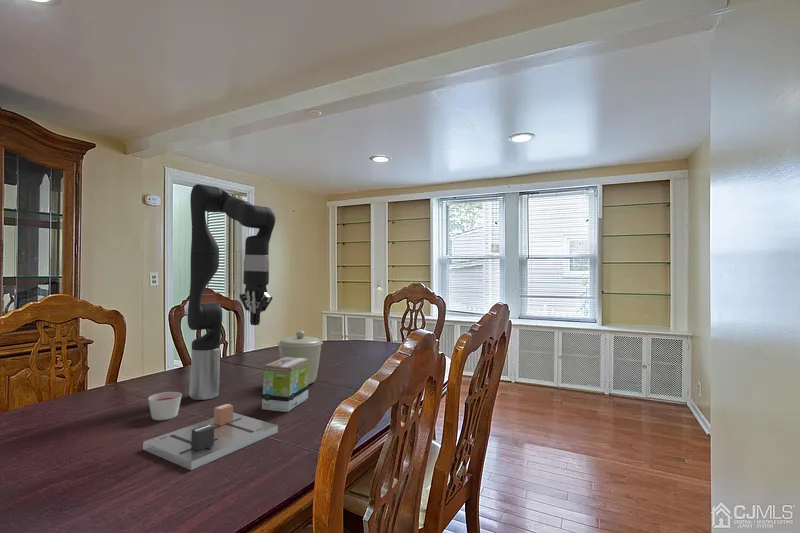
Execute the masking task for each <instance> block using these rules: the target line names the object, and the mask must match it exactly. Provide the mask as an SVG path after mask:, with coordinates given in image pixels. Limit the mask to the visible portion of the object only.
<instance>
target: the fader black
mask: <svg viewBox="0 0 800 533" xmlns="http://www.w3.org/2000/svg"><path fill="white" fill-rule="evenodd" d="M213 445H214V427H212V426H211V425H204V426H201V427H198V428H196V429H193V430H192V438H191V448H192V449H194V450H197V451H201V450H203V449H206V448H208V447H211V446H213Z"/></svg>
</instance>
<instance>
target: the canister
mask: <svg viewBox="0 0 800 533" xmlns="http://www.w3.org/2000/svg"><path fill="white" fill-rule="evenodd" d="M276 343H277V346H278V350H279V351H278V352H279V359H281V358H284V357H294V358H306V359H309V384H308V385H311V384H314V382H315V381H316V379H317V377H318V370H319V364H320V357H321V350H322V349H321V348H322V345H323V344H324V341H322V340H321V339H320V338H317V337H313V336H306V333H305V332H304V330H298V331H297V332H296V333H295V336H288V337H285V338H282V339H280V340H279V341H277V342H276Z"/></svg>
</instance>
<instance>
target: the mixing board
mask: <svg viewBox="0 0 800 533" xmlns="http://www.w3.org/2000/svg"><path fill="white" fill-rule="evenodd" d="M204 425H211V426H212V427H214V445H213V446H211V447H208V448H206V449H203V450H201V451H197V450H194V449H192V448H191V438H192V430H193V429H196V428H198V427H201V426H204ZM278 429H279V426H278V425H277V424H273V423H270V422H268V421H264V420H260V419H256V418H253V417H250V416H247V415H244V414H240V413H236V412H233V421H232V422H230V423H227V424H224V425H221V426H220V425H217V424H214V417H212V418H209V419H206V420H203V421H200V422H198V423H194V424H192V425H189V426H185V427H183V428H180V429H176V430H174V431H171V432H168V433H165V434H161V435H159V436H155V437H153V438H150V439H147V440H143V441H142V451H143V450H144V451H146V452H147V453H150V454H152V455H155V456H156V457H160V458H161V457H162V459H164V460H167V461H169V462H171V463H174V464H176V465H178V466H180V467H182V468H185V469H187V470H190V471H193V470H196V469H198V468H200V467H202V466H205V465H207V464H209V463H211V462H214V461H216V460H218V459H220V458H223V457H225V456H228V455H229V454H232V453H234V452H236V451H238V450H241V449H244V448H246V447H248V446H250V445H253V444H254V443H257V442H259V441H262V440H264V439H266V438H268V437H270V436H272V435H276V434H277V433H278Z"/></svg>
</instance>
